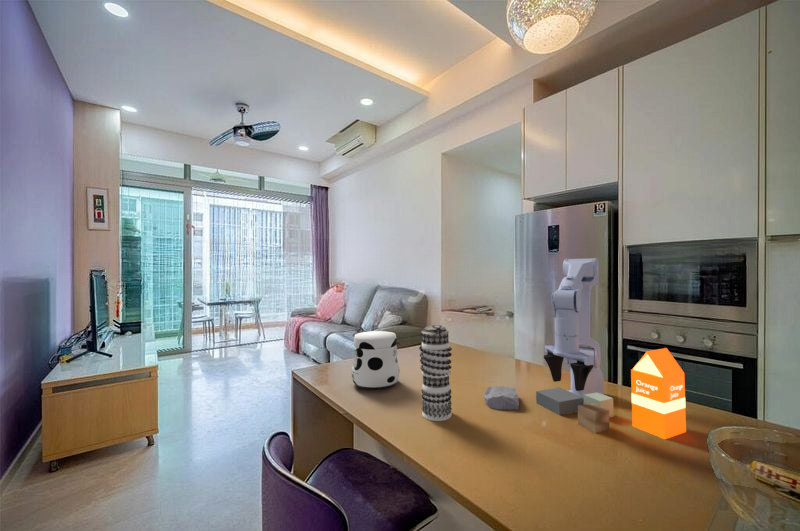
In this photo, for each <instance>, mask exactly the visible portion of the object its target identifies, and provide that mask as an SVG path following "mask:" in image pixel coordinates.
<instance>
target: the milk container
mask: <svg viewBox="0 0 800 531" xmlns="http://www.w3.org/2000/svg"><path fill="white" fill-rule="evenodd" d="M397 354H398V346H397V335H396V333H395V332H391V331H385V330H372V331H363V332H358V333H356V334H354V338H353V362H352V365H351V366H352V367H351V378H352V382H353V384H354V385H355V386H357V387H358V388H360V389H361V388H362V389H365V390H380V389H381V390H382V389H386V388H390V387H392V386H395V385H396V384H397V383H398V381H399V379H400V373H401V372H400V370H401V369H400V364H399V360H398V357H397V356H398V355H397Z"/></svg>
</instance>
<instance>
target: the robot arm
mask: <svg viewBox="0 0 800 531" xmlns="http://www.w3.org/2000/svg"><path fill="white" fill-rule="evenodd" d="M562 273H563V276H564V277H563V278H562V280H561V281H560V284H559V286H558V289H556V290H555V291H552V293H551V300H550V301H551V302H550V303H551V308H552V316H553V318H554V341H555V342H554V345H551V344H547V345H544V350H543V351H544V353H546V354H545V355H543V359H544V360H545V362H546V364H547V366H548V368H549V372H550V375H551V378H552V381H553V382H555V383H556V382H561V381H562V369H563V368H562V367H563V362H565V363H566V365H568V367H569V370H570V376H569V377H570V389H569V390H567V389H566V390H567V391H569V392H572V393H574V394H577V395H579V396H581V397H584V395H585V394H591V393H596V392H597V393H600V394H603V395H605V396H607V394H605V388H604V386H605V382H604V381H605V380H604V374H603V371H602V370H601V363H602V355H601V354H602V353H601V345H600V344H599V342H598V341H597V340H595V339H593V338H592V337H591V301H592V300H591V298H592V297H591V296H592V295H591V294H592V289H593V287H594V286H597V285H598V284H599V281H600V262H599V259H598V258H596V257H593V258H591V257H590V258H565V259H564V260H563V262H562Z"/></svg>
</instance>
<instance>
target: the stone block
mask: <svg viewBox="0 0 800 531" xmlns="http://www.w3.org/2000/svg"><path fill="white" fill-rule="evenodd" d="M483 397H484V398H483V399H484V401H485V404H486V405H487V407H488V408H490V409H494V410H509V411H510V410H511V411H513V410H514V411H519V409H520V403H519V402H520V399H519V394H518V393H517V389H516V387H515V386H513V387H511V386H505V385H494V386H490V387H487V388H486V389H485V392H484V396H483Z"/></svg>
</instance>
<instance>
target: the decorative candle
mask: <svg viewBox="0 0 800 531" xmlns="http://www.w3.org/2000/svg"><path fill="white" fill-rule="evenodd" d="M420 333H421V336H422V337H421V340H422V341H421V345H420V346H419V348H418V350H419V351H420V354H419V357H420V359H419V361H420V362H419V363H420V364H421V366H420V369H421V375H422V388H421V394H422V395H421V399H422V400H421V402H420V403H421V411H422V413H421V415H422V417H423V418H424V419H426V420H427V421H433V422H434V421H435V422H442V421H446V420H449V419H450V418H452V401H451V399H452V395H451V394H452V390H451V383H450V376H451V374H452V373H451V369H452V365H450V364H452V360H451V359H450V357H451V356H452V355H453V353H452V352H451V351H453V350H452V349H453V348H452V347H451V346H450V342H449V334H450V331H449V330H447V328H446V327H445V326H444V325H438V324H431V325H426V326H425V327H424V328H423V330H421V331H420Z"/></svg>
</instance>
